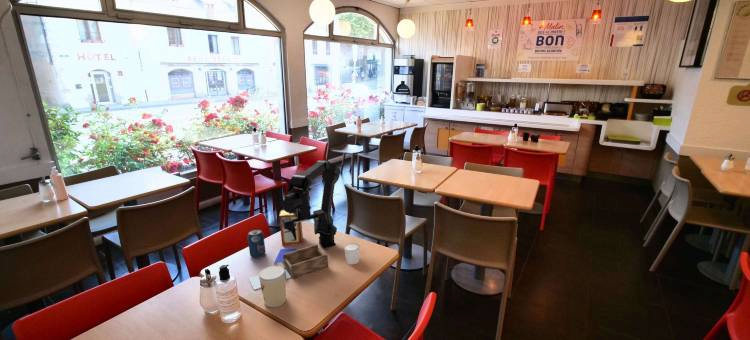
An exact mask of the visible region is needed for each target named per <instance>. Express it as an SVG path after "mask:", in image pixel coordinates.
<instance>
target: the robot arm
mask: <svg viewBox="0 0 750 340" xmlns="http://www.w3.org/2000/svg"><path fill="white" fill-rule="evenodd" d="M320 174H321V178H322V180H323V183H324V184H323V191H322V198H321V207H320V209H316V210H314V211H313V212H312V214H311V209H312V206H311V205H310V192H311V190H312V188H311V185H312V184H313V181H314V179H316V178H317V177H318V176H319V175H320ZM340 176H341V168H339V166H338V165H336V164H334V163H332V162H330V161H328V160H325V159H323V160H322V159H319V160H317V162H316V163H314V164H313V165H312V166H310V167H309V168H308V169H306V170H305V171H301V172H296V173H294V174H293V175H292V176H291V178H290V182H289V185H288V188H287V191H286V193H288V194H286V195H285V196H284V199H283V200H282V201H281V208H282V210H284V211H286V212H288V213H289V214H292V213H293V215H295V217H297V218H295V219H291V218H290V217H287V218H283V219H282V220H281V225H282V227H283V228H284V229H287V230H290V231H291V233H292V235H293V237H294V239H295V240H296V230H295V227H294V223H298V222H301V223H302V222H307V221H310V220H313V225H314V226H313V230H314V234H315V235H319V237H318V244H319V246H321V247H322V248H323V249H325V250H326V249H328V248H331V247H335V246H337V243H336V242H335V235H336V234H337V230H338V228H337V227H336V226H335V225H334V219H333V217H332V215H331V214H332V208H333V199H334V193H335V192H334V191H335V185H336V183H337V182H338V181H339V178H340Z"/></svg>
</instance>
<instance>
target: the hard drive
mask: <svg viewBox="0 0 750 340" xmlns="http://www.w3.org/2000/svg"><path fill="white" fill-rule="evenodd" d="M296 250H299V249H298V248H281V249H280V250H279V251H278V254H277V256H276V257H275V260H274V262H273V266H277V263H280V262H282V264H283V265H284V261H283V254H286V253H289V252H293V251H296Z"/></svg>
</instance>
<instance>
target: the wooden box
mask: <svg viewBox="0 0 750 340" xmlns="http://www.w3.org/2000/svg"><path fill="white" fill-rule="evenodd" d="M318 244H319V243H318ZM318 244H317V243H316V244H314V245H310V246H306V247H303V248H299V249H298V250H296V251H293V252H289V253H286V254H283V261H284V267H285V269H286V270H287V272H288V273H289V275H290V276H291V278H290V279H292V280H294V279H298V278H301V277H304V276H306V275H308V274H313V273H315V272H318V271H322V270H323V269H326V268H327V269H328V268H329V256H328V255H329V254H328V253H324V252H323V251H322V250H321V249H320V248H319V245H318Z"/></svg>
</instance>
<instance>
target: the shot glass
mask: <svg viewBox="0 0 750 340" xmlns="http://www.w3.org/2000/svg"><path fill="white" fill-rule="evenodd" d="M343 248H344V249H343V250H344V255H345V261H346V264H348V265H356V264H358V263H359V262H360V248H361V247H360V245H359V244H358V243H351V242H350V243H346V245H344V246H343Z"/></svg>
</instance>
